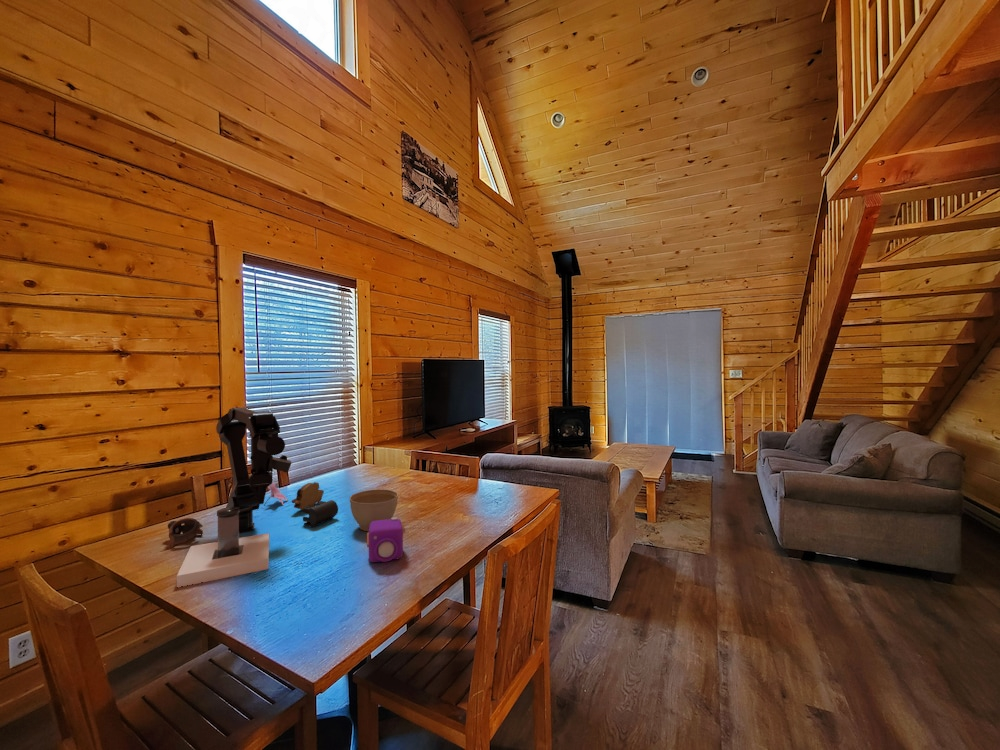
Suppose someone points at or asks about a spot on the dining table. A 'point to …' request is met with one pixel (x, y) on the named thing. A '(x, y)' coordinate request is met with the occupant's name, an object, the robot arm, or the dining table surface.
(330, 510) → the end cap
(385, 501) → the planter bowl
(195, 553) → the mount plate
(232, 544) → the tube
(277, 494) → the lily
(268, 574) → the dining table surface
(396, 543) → the toy camera
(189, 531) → the brown hollow sculpture
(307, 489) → the wooden carving
